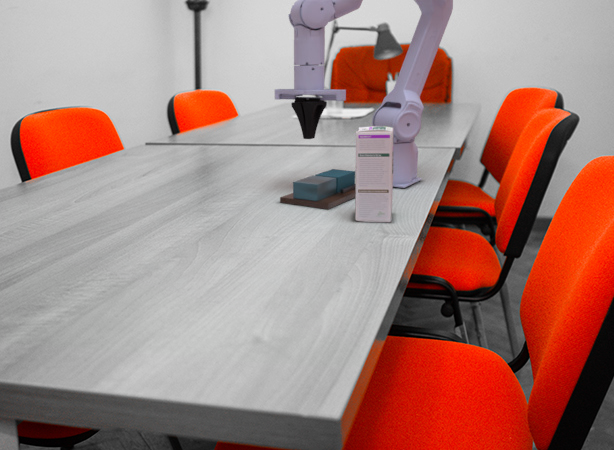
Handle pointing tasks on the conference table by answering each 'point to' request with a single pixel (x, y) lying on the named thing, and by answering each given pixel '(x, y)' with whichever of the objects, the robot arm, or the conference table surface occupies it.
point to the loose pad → (340, 178)
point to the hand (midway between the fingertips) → (309, 138)
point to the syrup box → (374, 174)
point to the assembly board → (320, 203)
